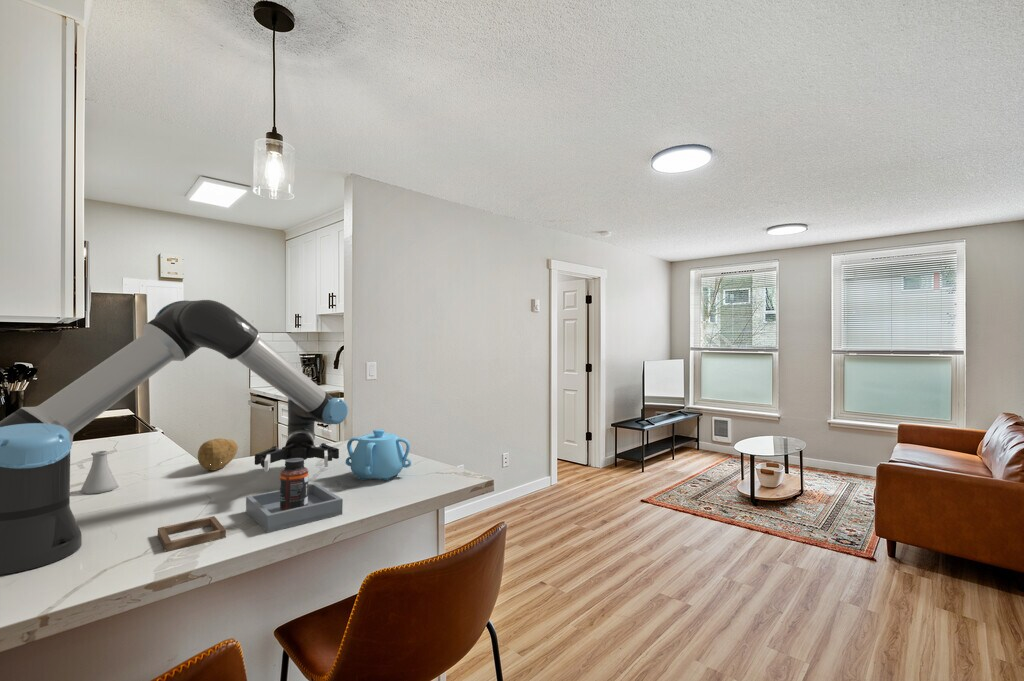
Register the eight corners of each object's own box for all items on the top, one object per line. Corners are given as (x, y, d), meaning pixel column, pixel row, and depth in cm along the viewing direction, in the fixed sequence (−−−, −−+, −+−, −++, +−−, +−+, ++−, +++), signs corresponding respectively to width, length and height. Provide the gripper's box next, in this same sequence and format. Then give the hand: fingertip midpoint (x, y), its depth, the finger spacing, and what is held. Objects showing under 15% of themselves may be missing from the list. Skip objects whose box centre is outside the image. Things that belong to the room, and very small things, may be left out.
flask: (124, 486, 129) (125, 449, 129) (99, 495, 122) (99, 455, 121) (100, 485, 129) (100, 448, 129) (73, 494, 122) (73, 454, 122)
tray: (267, 532, 100) (267, 515, 100) (246, 511, 112) (246, 496, 112) (342, 514, 111) (342, 499, 111) (315, 496, 123) (315, 483, 123)
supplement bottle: (313, 507, 113) (314, 458, 113) (290, 515, 108) (291, 464, 107) (297, 502, 116) (298, 455, 116) (274, 509, 111) (274, 460, 111)
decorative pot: (342, 473, 144) (342, 428, 144) (393, 465, 154) (393, 422, 154) (359, 487, 131) (360, 437, 131) (415, 478, 140) (415, 431, 140)
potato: (245, 461, 156) (245, 432, 156) (219, 474, 141) (220, 442, 141) (217, 461, 156) (217, 432, 156) (188, 474, 140) (189, 442, 140)
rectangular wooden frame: (165, 551, 91) (165, 543, 91) (157, 535, 98) (157, 528, 98) (225, 537, 98) (225, 529, 98) (214, 522, 105) (214, 516, 105)
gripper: (345, 455, 144) (349, 474, 124) (251, 462, 135) (239, 484, 115) (345, 430, 144) (349, 445, 124) (251, 435, 135) (239, 452, 115)
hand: (296, 463), depth 120 cm, fingers open, 13 cm apart
